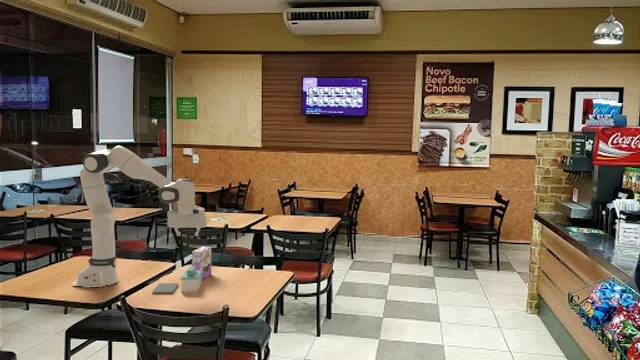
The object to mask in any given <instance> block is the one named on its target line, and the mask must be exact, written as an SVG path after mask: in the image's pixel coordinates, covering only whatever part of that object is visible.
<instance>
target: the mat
mask: <svg viewBox="0 0 640 360" xmlns="http://www.w3.org/2000/svg"><path fill="white" fill-rule="evenodd" d="M178 286H179V283H177V282H176V283H175V282H173V283H172V282H167V283H166V282H163V283H158V284H157V286H156V287H155V288H154V289H153V290H152V292H151V294H152V295H173V294H174V293H175V292H176V290H177V288H178Z"/></svg>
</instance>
